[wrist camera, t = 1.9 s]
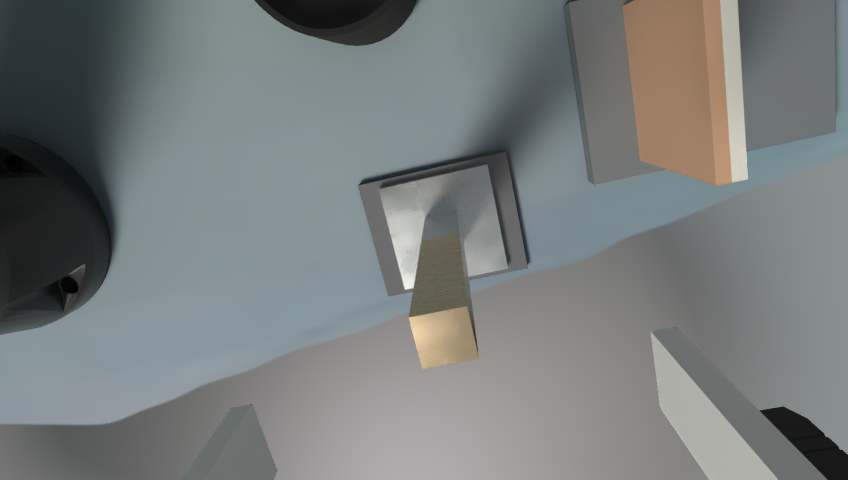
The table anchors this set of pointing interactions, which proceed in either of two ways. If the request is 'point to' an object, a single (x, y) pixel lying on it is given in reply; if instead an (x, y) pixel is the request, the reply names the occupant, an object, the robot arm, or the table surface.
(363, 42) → the pen holder
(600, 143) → the slate board
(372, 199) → the mat
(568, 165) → the table surface
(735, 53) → the tile
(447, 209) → the wooden post on base
